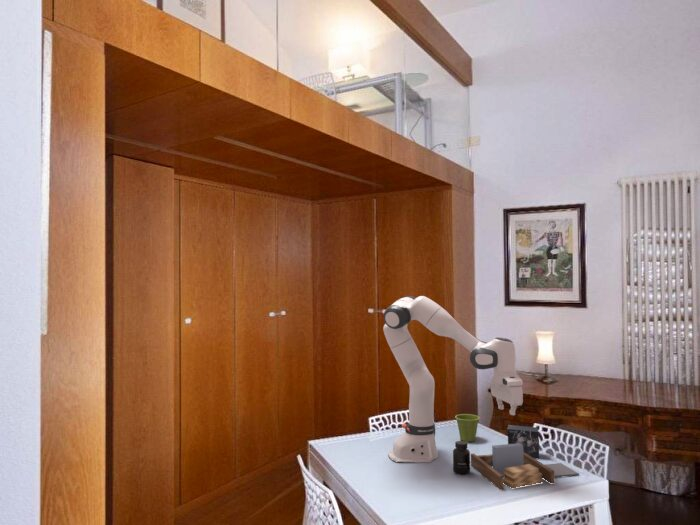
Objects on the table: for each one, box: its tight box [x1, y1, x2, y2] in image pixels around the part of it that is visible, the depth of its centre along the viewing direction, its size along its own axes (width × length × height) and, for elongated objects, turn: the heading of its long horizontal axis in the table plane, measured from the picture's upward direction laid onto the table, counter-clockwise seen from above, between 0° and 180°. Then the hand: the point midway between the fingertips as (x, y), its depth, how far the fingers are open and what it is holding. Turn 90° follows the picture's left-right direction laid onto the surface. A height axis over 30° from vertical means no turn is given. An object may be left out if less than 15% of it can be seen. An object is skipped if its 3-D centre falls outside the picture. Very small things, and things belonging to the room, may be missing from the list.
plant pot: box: [454, 413, 480, 443], centre depth 246 cm, size 12×12×11 cm
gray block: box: [491, 443, 524, 476], centre depth 202 cm, size 12×3×11 cm, turn 101°
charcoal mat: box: [544, 462, 580, 478], centre depth 203 cm, size 12×12×1 cm
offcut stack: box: [503, 464, 544, 489], centre depth 191 cm, size 14×6×6 cm, turn 110°
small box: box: [507, 424, 540, 460], centre depth 223 cm, size 13×7×12 cm, turn 70°
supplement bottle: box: [452, 440, 471, 476], centre depth 204 cm, size 7×7×12 cm
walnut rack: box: [470, 452, 555, 490], centre depth 201 cm, size 22×26×5 cm
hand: (506, 411), depth 203 cm, fingers open, 8 cm apart
